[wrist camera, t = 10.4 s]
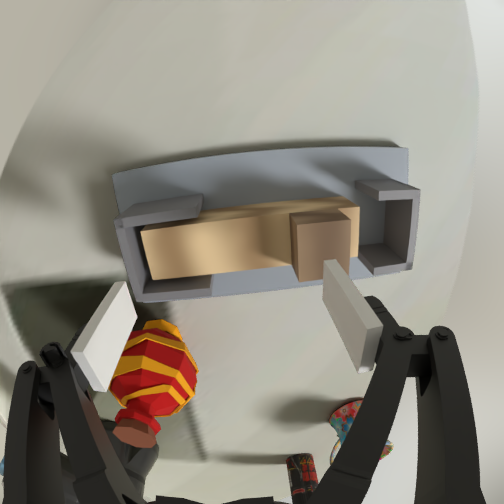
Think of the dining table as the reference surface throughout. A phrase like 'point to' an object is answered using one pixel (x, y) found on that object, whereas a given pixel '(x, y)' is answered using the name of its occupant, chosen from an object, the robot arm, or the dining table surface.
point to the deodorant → (301, 477)
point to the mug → (349, 426)
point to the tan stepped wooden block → (256, 239)
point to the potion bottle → (151, 381)
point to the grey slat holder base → (264, 191)
